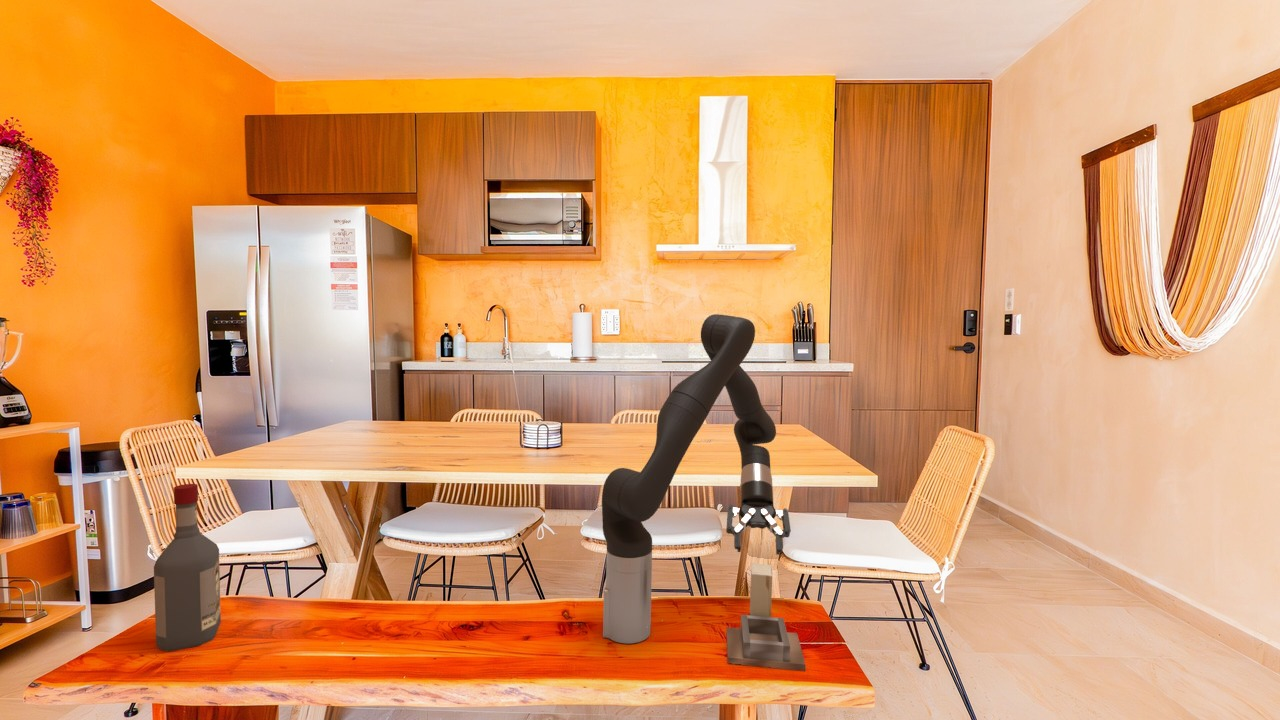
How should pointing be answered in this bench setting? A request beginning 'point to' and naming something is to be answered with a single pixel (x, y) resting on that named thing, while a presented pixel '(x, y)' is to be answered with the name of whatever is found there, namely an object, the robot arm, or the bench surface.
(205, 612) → the liquor
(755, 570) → the skincare box
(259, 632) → the bench surface
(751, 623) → the serum holder
